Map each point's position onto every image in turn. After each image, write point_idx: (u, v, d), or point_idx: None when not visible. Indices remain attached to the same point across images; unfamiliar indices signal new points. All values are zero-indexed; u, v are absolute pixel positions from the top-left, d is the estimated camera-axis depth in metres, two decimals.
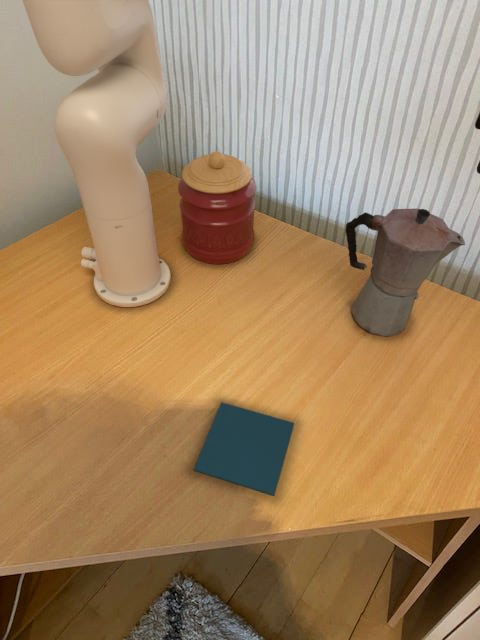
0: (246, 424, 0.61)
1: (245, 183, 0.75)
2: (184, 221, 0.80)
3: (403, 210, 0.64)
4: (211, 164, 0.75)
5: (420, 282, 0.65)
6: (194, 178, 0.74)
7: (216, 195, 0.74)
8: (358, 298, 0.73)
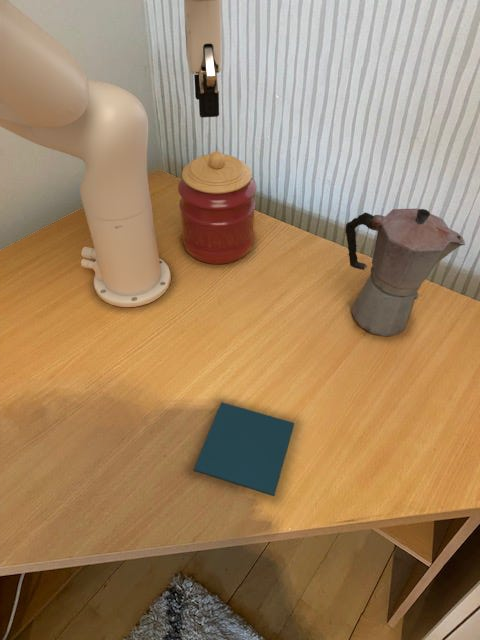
0: (246, 424, 0.61)
1: (245, 183, 0.75)
2: (184, 221, 0.80)
3: (403, 210, 0.64)
4: (211, 164, 0.75)
5: (420, 282, 0.65)
6: (194, 178, 0.74)
7: (216, 195, 0.74)
8: (358, 298, 0.73)
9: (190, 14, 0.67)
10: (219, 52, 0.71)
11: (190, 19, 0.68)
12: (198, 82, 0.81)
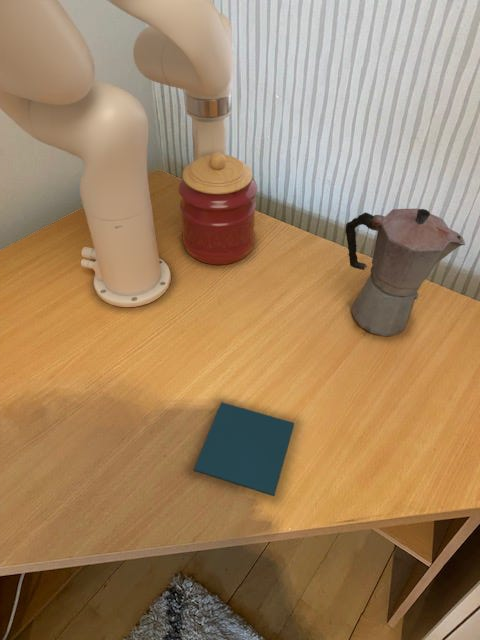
0: (246, 424, 0.61)
1: (246, 184, 0.75)
2: (184, 222, 0.80)
3: (403, 210, 0.64)
4: (212, 165, 0.74)
5: (420, 282, 0.65)
6: (195, 178, 0.74)
7: (216, 196, 0.74)
8: (358, 298, 0.73)
9: (198, 132, 0.77)
10: None
11: (198, 136, 0.77)
12: None
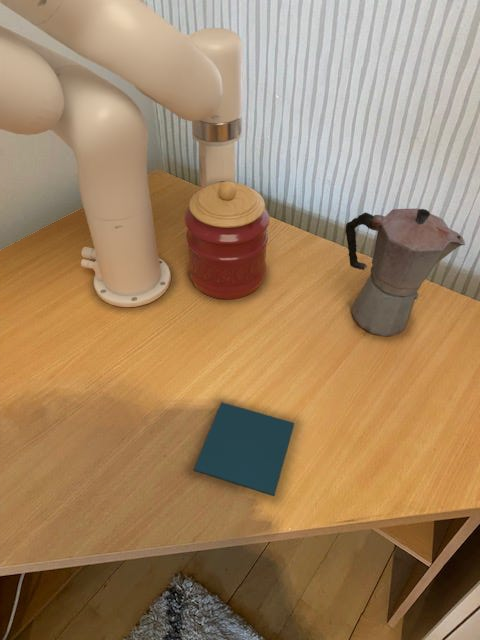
0: (246, 424, 0.61)
1: (258, 216, 0.69)
2: (191, 254, 0.74)
3: (403, 210, 0.64)
4: (221, 195, 0.69)
5: (420, 282, 0.65)
6: (202, 210, 0.68)
7: (226, 229, 0.68)
8: (358, 298, 0.73)
9: (206, 158, 0.71)
10: None
11: (206, 162, 0.71)
12: None
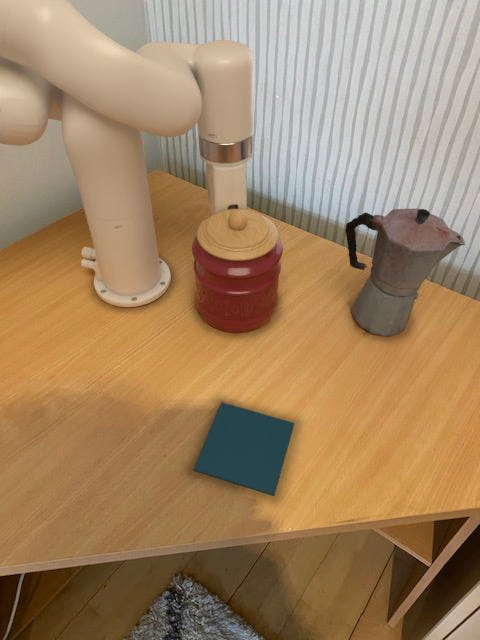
0: (246, 424, 0.61)
1: (270, 248, 0.64)
2: (198, 284, 0.69)
3: (403, 210, 0.64)
4: (231, 225, 0.64)
5: (420, 282, 0.65)
6: (211, 240, 0.63)
7: (235, 262, 0.63)
8: (358, 298, 0.73)
9: (214, 180, 0.65)
10: None
11: (214, 185, 0.65)
12: None
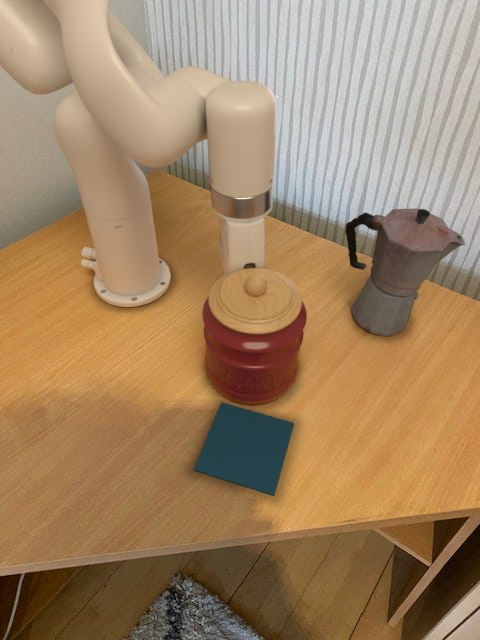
0: (246, 424, 0.61)
1: (292, 319, 0.55)
2: (208, 351, 0.61)
3: (403, 210, 0.64)
4: (248, 290, 0.55)
5: (420, 282, 0.65)
6: (224, 308, 0.55)
7: (252, 335, 0.54)
8: (358, 298, 0.73)
9: (229, 237, 0.57)
10: (262, 268, 0.60)
11: (229, 242, 0.57)
12: None
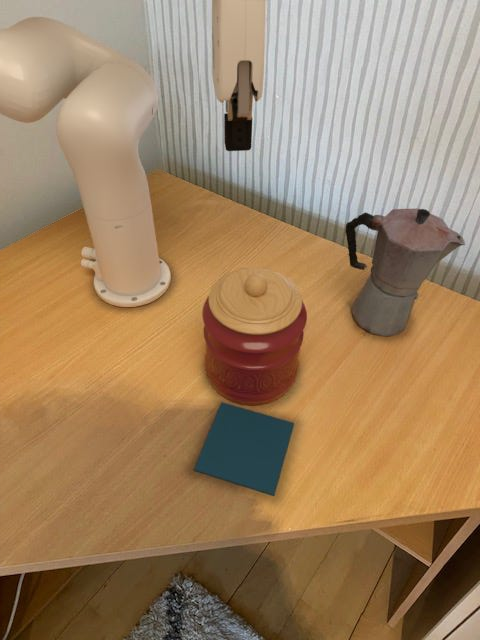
0: (246, 424, 0.61)
1: (292, 319, 0.55)
2: (208, 352, 0.61)
3: (403, 210, 0.64)
4: (248, 291, 0.55)
5: (420, 282, 0.65)
6: (224, 309, 0.55)
7: (252, 335, 0.54)
8: (358, 298, 0.73)
9: (220, 17, 0.45)
10: (260, 73, 0.49)
11: (220, 24, 0.45)
12: None
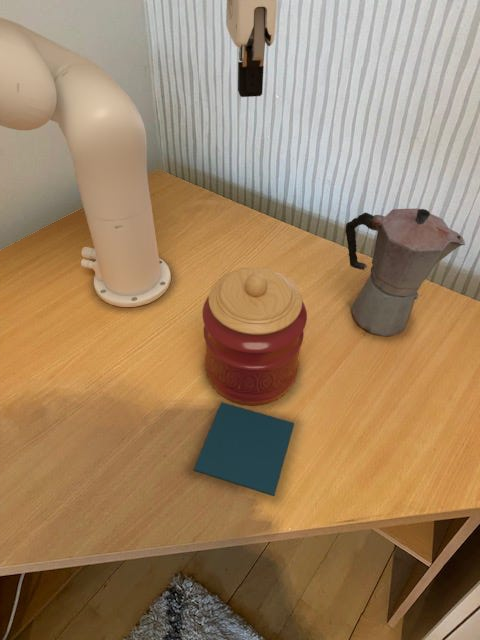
0: (246, 424, 0.61)
1: (293, 319, 0.55)
2: (208, 352, 0.61)
3: (403, 210, 0.64)
4: (248, 291, 0.55)
5: (420, 282, 0.65)
6: (224, 309, 0.55)
7: (252, 335, 0.54)
8: (358, 298, 0.73)
9: None
10: (273, 18, 0.56)
11: None
12: None
